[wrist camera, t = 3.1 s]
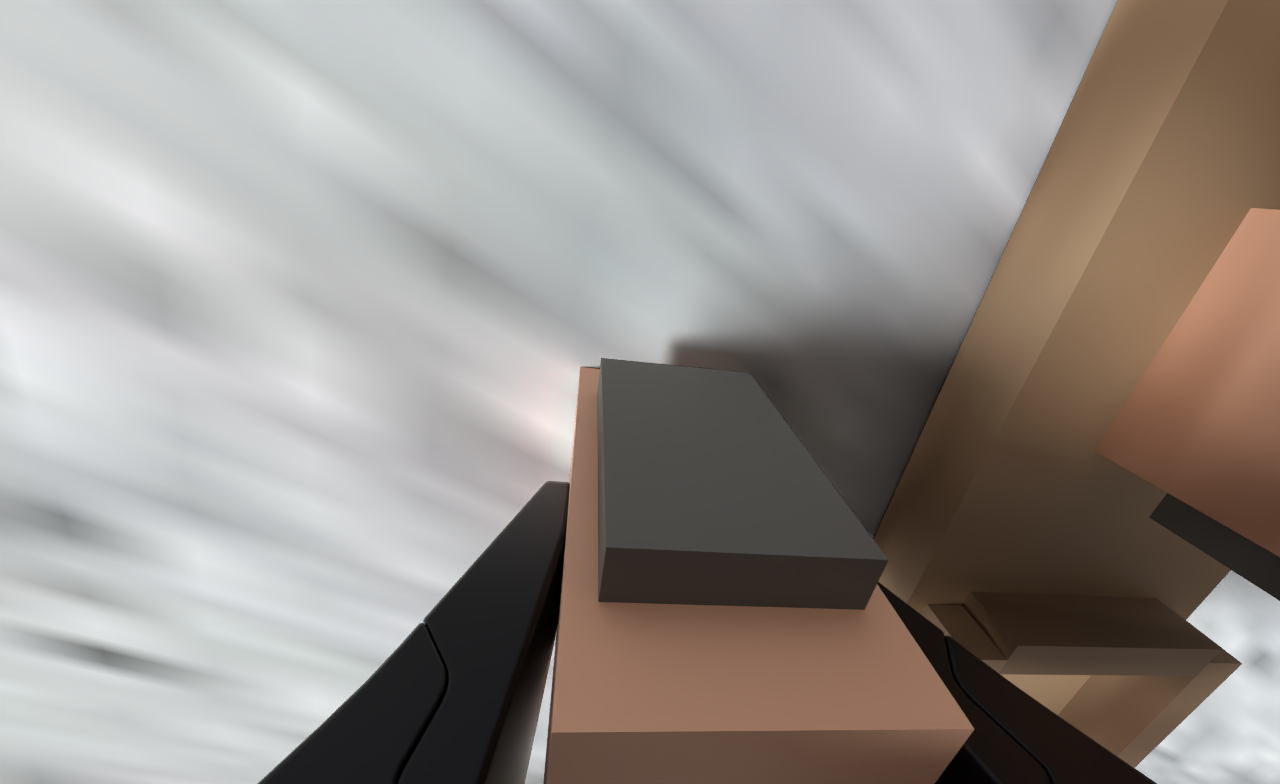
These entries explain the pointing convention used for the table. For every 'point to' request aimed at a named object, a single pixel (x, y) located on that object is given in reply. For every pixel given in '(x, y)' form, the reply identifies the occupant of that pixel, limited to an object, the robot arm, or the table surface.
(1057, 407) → the rail
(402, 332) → the table surface
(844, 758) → the salmon and grey block
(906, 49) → the table surface
